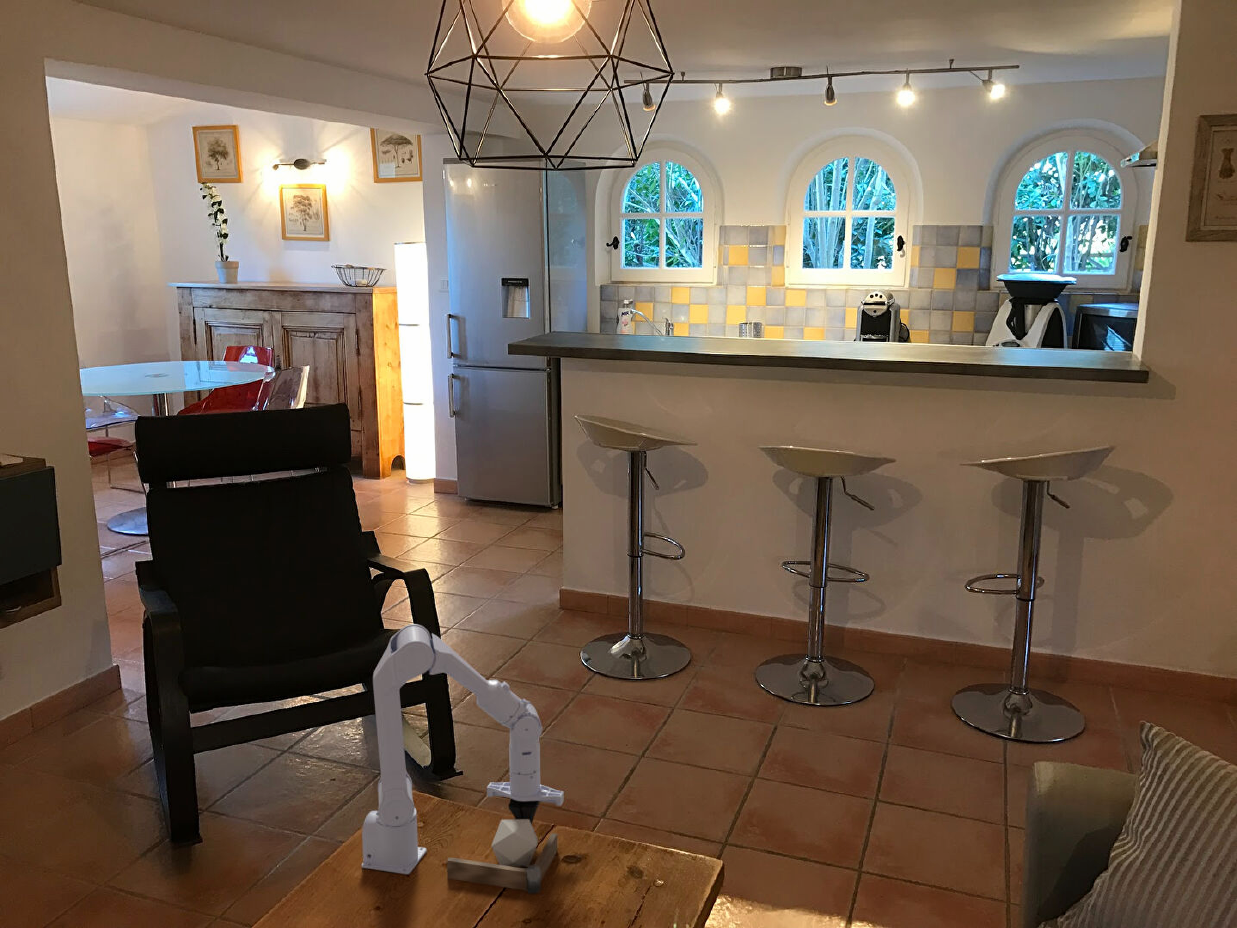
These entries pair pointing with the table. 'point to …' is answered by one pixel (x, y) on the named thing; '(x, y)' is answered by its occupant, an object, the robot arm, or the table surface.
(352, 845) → the table surface
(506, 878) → the wooden l-shaped bracket
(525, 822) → the die
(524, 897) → the table surface
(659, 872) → the table surface
